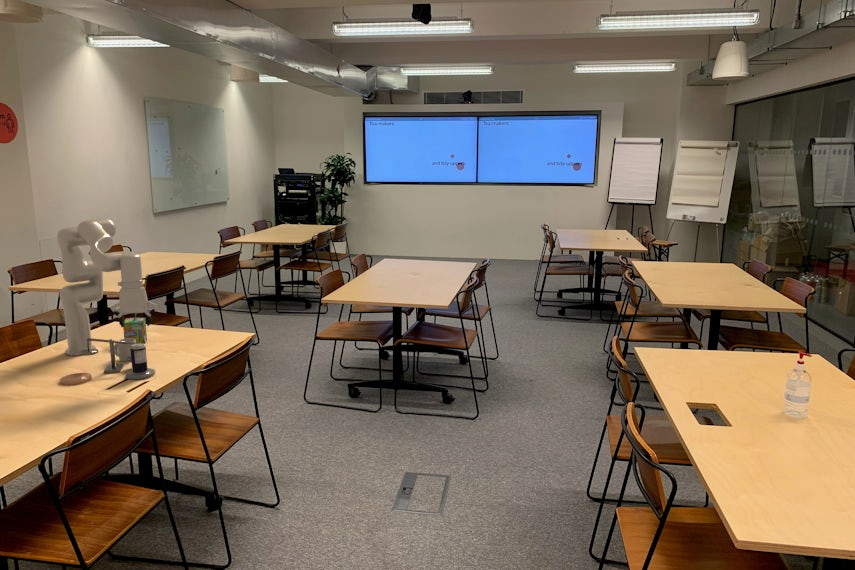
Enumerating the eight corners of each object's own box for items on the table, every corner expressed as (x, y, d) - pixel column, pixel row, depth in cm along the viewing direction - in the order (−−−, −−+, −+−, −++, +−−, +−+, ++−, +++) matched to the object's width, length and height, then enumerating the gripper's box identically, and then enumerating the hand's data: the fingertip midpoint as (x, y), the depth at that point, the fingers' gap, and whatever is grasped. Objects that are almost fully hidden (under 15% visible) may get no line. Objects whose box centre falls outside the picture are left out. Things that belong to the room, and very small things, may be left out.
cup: (131, 362, 270) (129, 343, 268) (109, 361, 271) (107, 342, 269) (140, 357, 277) (138, 338, 275) (119, 356, 278) (117, 337, 276)
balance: (84, 369, 262) (80, 336, 259) (147, 364, 268) (144, 332, 265) (79, 375, 254) (75, 341, 251) (144, 370, 261) (141, 337, 258)
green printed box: (127, 341, 302) (124, 311, 298) (147, 339, 304) (145, 310, 301) (124, 346, 293) (121, 316, 290) (145, 344, 296) (142, 315, 293)
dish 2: (128, 372, 259) (128, 369, 258) (157, 369, 262) (156, 367, 261) (123, 381, 248) (123, 378, 248) (153, 378, 251) (152, 376, 251)
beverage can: (149, 370, 258) (147, 342, 255) (144, 374, 252) (141, 346, 250) (136, 370, 257) (133, 342, 255) (130, 374, 252) (127, 346, 249)
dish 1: (65, 376, 252) (64, 374, 252) (94, 374, 255) (94, 371, 255) (56, 386, 242) (56, 383, 242) (87, 383, 245) (87, 381, 245)
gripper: (106, 287, 241) (110, 329, 245) (154, 285, 246) (157, 327, 249) (110, 283, 248) (114, 324, 252) (157, 282, 253) (160, 322, 257)
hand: (135, 325), depth 251 cm, fingers open, 9 cm apart
